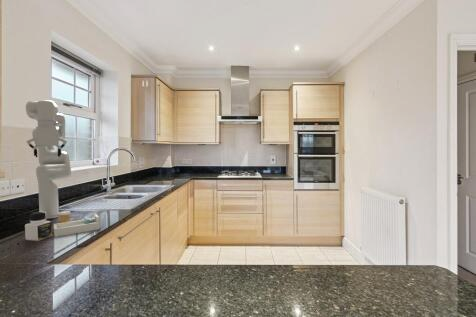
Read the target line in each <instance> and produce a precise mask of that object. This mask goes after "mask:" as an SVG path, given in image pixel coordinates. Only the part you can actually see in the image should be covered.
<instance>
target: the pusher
mask: <svg viewBox="0 0 476 317" xmlns="http://www.w3.org/2000/svg"><path fill="white" fill-rule="evenodd" d="M89 219H90V218H89V217H88V216H84V219H83V220H85V224H88V223H94V222H95V219H93V220H89Z"/></svg>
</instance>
